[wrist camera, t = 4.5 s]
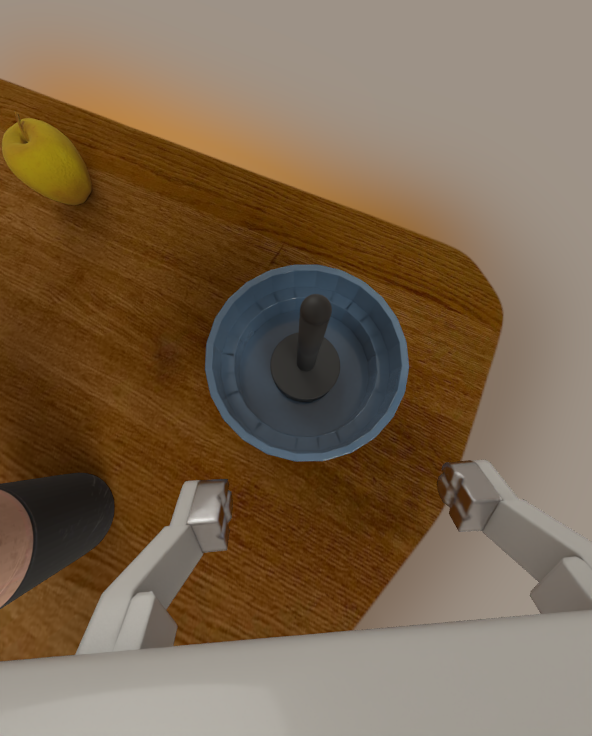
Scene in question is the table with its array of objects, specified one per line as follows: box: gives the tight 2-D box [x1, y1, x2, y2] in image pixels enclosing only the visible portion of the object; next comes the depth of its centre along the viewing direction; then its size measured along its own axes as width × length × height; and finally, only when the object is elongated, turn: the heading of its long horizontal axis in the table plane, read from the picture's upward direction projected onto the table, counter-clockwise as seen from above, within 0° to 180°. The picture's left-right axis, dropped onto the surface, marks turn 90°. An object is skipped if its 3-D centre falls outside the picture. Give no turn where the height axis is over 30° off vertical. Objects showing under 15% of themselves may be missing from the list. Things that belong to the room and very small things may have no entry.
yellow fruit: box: [2, 111, 92, 205], centre depth 29 cm, size 6×6×8 cm
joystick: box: [270, 294, 340, 402], centre depth 21 cm, size 6×6×15 cm
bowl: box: [205, 265, 409, 461], centre depth 26 cm, size 16×16×6 cm
